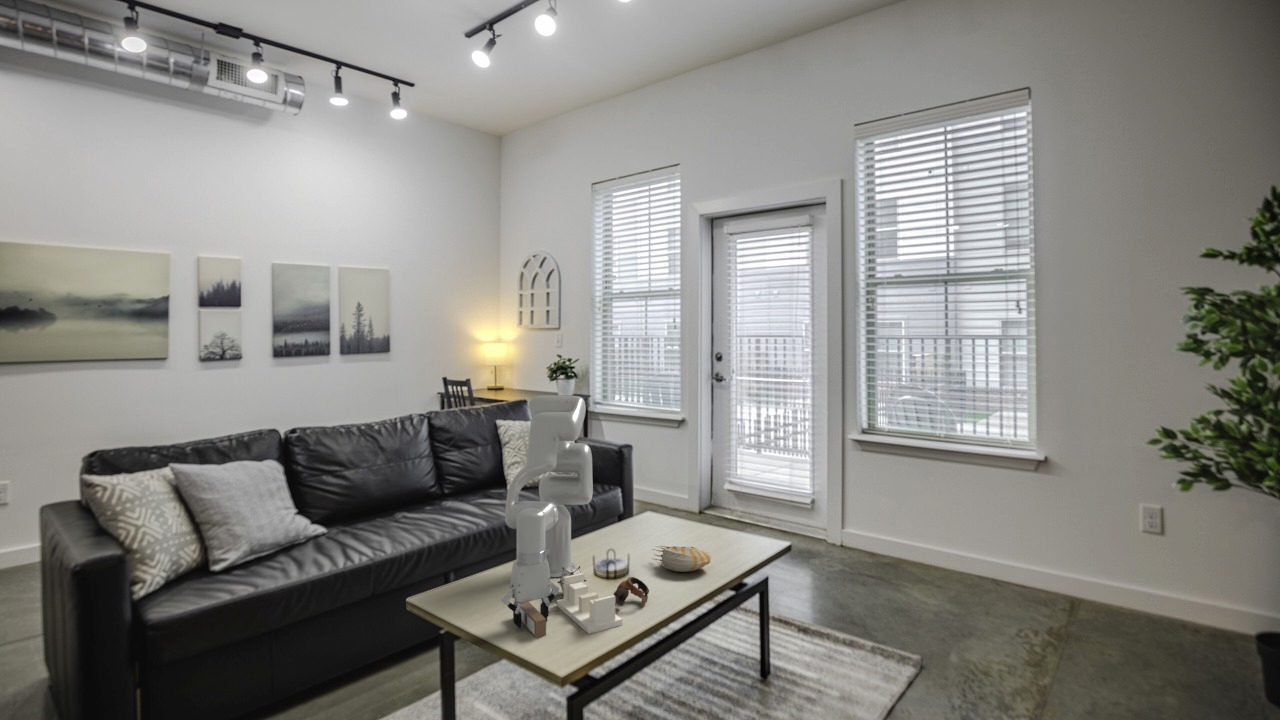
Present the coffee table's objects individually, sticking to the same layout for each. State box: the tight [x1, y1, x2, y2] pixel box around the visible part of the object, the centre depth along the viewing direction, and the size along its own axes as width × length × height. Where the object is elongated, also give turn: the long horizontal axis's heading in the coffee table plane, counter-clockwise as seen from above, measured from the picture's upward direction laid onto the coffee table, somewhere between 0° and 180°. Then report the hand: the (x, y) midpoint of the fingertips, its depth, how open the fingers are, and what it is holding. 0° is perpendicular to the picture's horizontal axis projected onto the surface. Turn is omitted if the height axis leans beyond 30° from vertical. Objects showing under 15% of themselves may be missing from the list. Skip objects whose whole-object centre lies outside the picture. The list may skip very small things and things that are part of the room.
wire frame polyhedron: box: [556, 565, 588, 598], centre depth 186 cm, size 9×8×10 cm
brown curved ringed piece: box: [613, 576, 650, 608], centre depth 179 cm, size 12×10×8 cm
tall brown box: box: [520, 601, 547, 639], centre depth 166 cm, size 14×3×4 cm, turn 31°
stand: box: [556, 572, 623, 635], centre depth 173 cm, size 20×10×8 cm, turn 32°
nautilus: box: [651, 545, 712, 573], centre depth 209 cm, size 8×22×15 cm
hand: (531, 622), depth 166 cm, fingers open, 6 cm apart
